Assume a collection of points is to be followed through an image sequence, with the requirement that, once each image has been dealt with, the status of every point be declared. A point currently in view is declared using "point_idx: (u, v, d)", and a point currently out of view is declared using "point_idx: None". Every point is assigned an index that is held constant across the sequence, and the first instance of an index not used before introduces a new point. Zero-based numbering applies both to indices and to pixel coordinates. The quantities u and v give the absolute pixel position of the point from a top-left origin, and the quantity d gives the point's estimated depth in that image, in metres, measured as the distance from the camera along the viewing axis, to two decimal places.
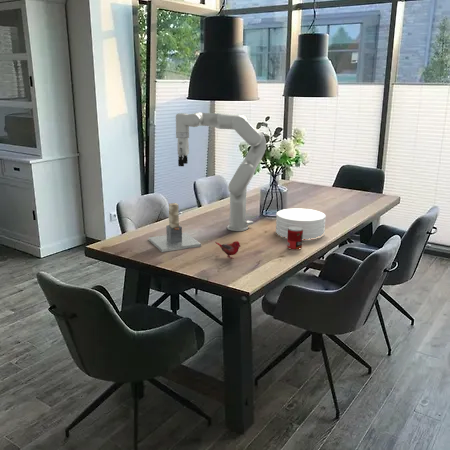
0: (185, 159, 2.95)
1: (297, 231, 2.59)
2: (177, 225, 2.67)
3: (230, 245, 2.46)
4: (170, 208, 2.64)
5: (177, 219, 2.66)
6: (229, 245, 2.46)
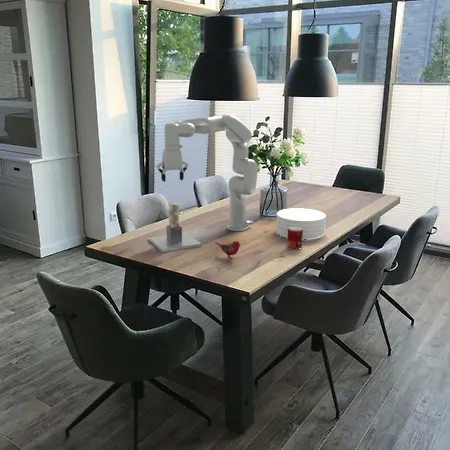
0: None
1: (297, 231, 2.59)
2: (177, 225, 2.67)
3: (230, 245, 2.46)
4: (170, 208, 2.64)
5: (177, 219, 2.66)
6: (229, 245, 2.46)
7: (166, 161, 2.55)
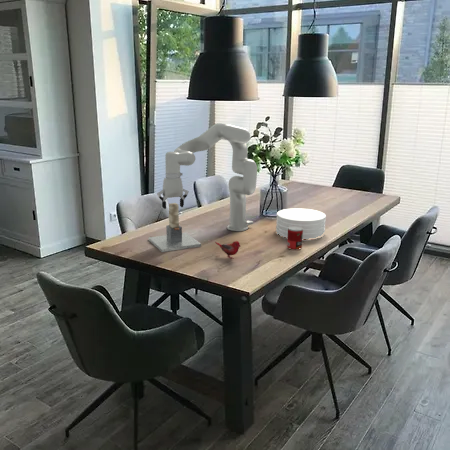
0: None
1: (297, 231, 2.59)
2: (177, 225, 2.67)
3: (230, 245, 2.46)
4: (170, 208, 2.64)
5: (177, 219, 2.66)
6: (229, 245, 2.46)
7: (167, 189, 2.59)
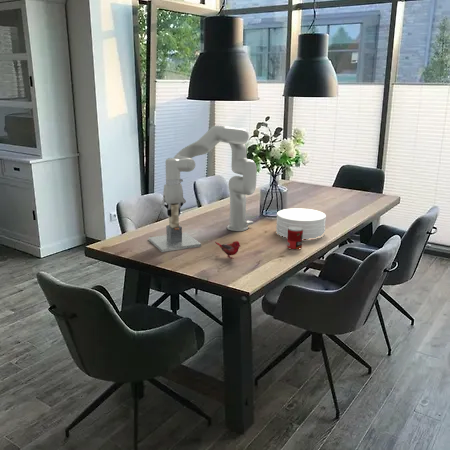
0: None
1: (297, 231, 2.59)
2: (177, 225, 2.67)
3: (230, 245, 2.46)
4: (170, 208, 2.64)
5: (177, 219, 2.66)
6: (229, 245, 2.46)
7: (167, 195, 2.60)
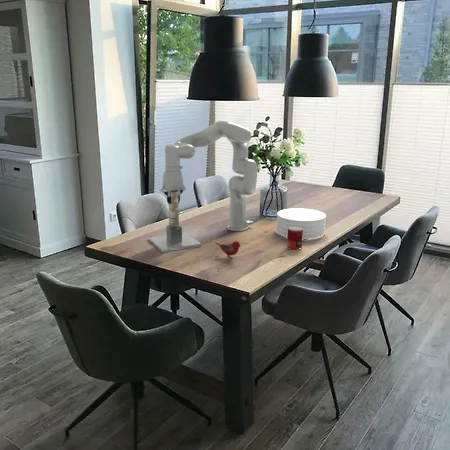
0: None
1: (297, 231, 2.59)
2: (177, 212, 2.65)
3: (230, 245, 2.46)
4: (170, 195, 2.62)
5: (177, 206, 2.64)
6: (229, 245, 2.46)
7: (167, 182, 2.58)
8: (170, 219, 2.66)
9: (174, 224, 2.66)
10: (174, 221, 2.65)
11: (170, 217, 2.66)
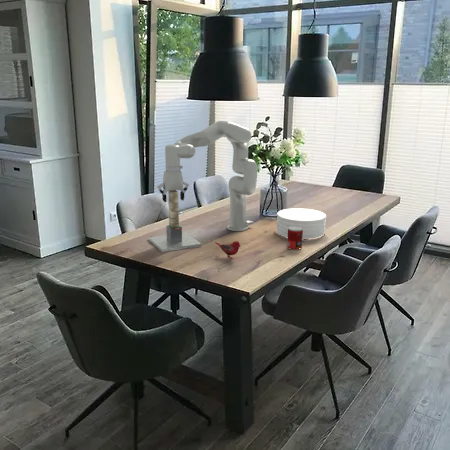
0: None
1: (297, 231, 2.59)
2: (177, 212, 2.65)
3: (230, 245, 2.46)
4: (170, 195, 2.62)
5: (177, 206, 2.64)
6: (229, 245, 2.46)
7: (167, 182, 2.58)
8: (170, 219, 2.66)
9: (174, 224, 2.66)
10: (174, 221, 2.65)
11: (170, 217, 2.66)
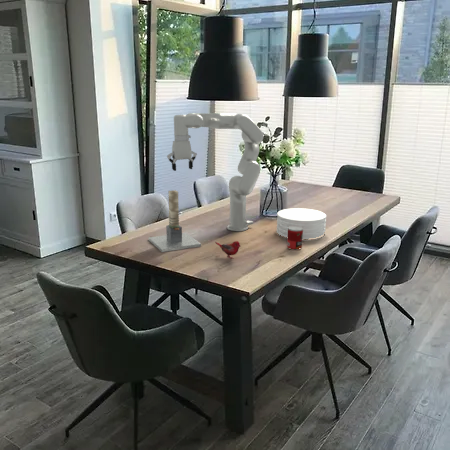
0: None
1: (297, 231, 2.59)
2: (177, 212, 2.65)
3: (230, 245, 2.46)
4: (170, 195, 2.62)
5: (177, 206, 2.64)
6: (229, 245, 2.46)
7: (176, 151, 2.67)
8: (170, 219, 2.66)
9: (174, 224, 2.66)
10: (174, 221, 2.65)
11: (170, 217, 2.66)
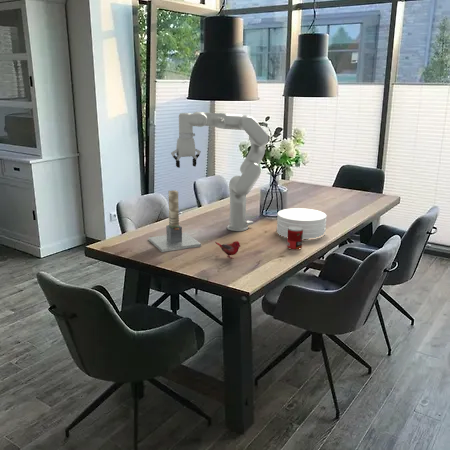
0: None
1: (297, 231, 2.59)
2: (177, 212, 2.65)
3: (230, 245, 2.46)
4: (170, 195, 2.62)
5: (177, 206, 2.64)
6: (229, 245, 2.46)
7: (180, 148, 2.73)
8: (170, 219, 2.66)
9: (174, 224, 2.66)
10: (174, 221, 2.65)
11: (170, 217, 2.66)
